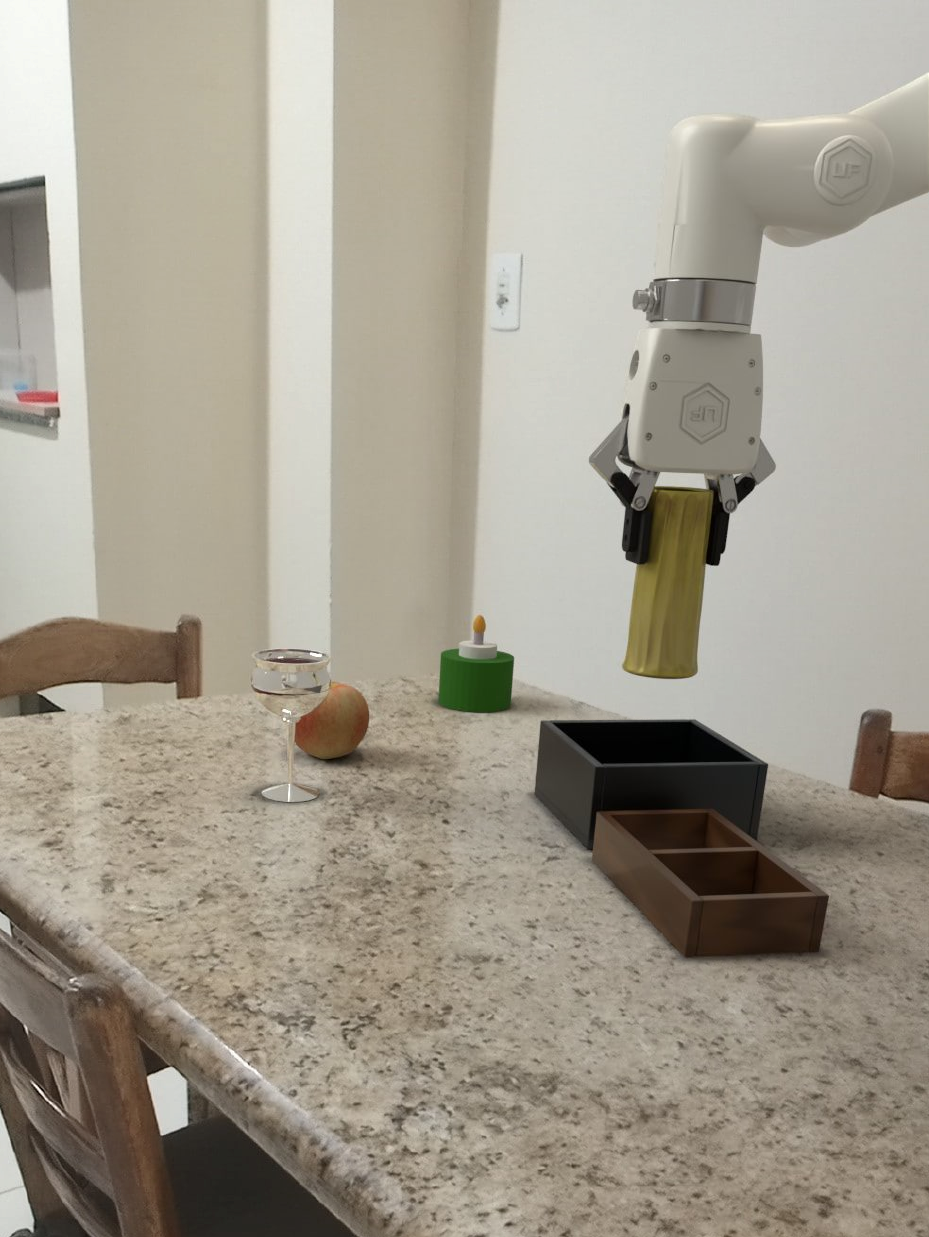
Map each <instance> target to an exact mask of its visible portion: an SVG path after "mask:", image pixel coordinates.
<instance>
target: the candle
mask: <svg viewBox="0 0 929 1237" xmlns="http://www.w3.org/2000/svg"><path fill="white" fill-rule="evenodd" d="M486 628H487V624H486V620H485V618H484V615H481V614H479V615H477V616H475V619H474V621H473V624H472V629H473V640H471V639H470V640H463V641H462V640H461V641H459V643H458V648H450V649H446V650H443V651H441V652H440V662H439V663H440V664H439V679H438V680H439V684H438V701H437V702H438V704H439V705H440V706H442V707H444V708H446V709H447V708H448V709H451V710H455V711H462V712H468V713H469V712H470V713H496V712H502V711H506V710H508V709H510V708H511V706H512V696H513V695H512V692H513V680H514V667H515V656H514V655H513V654H512V653H508V652H505V651H500V650H498V644H497V643H495V642H493V641H488V640H487V641H486V640H484V637H485V632H486Z"/></svg>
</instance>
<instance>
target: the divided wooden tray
mask: <svg viewBox="0 0 929 1237" xmlns="http://www.w3.org/2000/svg"><path fill="white" fill-rule="evenodd" d="M591 861H592V862H593V863H594V864H595V865H596V866H597V868H599V869H600V870H601V871H602V873H603V874H605V876H606V877H607V878H608V879H609V880H610V881H611V882H612V883H613V884H614V885H615V886H616V887H617V888H618V889H619V890H620V891H621V893H623V894H624V896H626V898H628V900H629V901H630V902H631V903H632V904H633V905H634V906H635V907H636V908H637V909H638V910H639V911H640V912H641V914H643V915H644V917H646V919H647V920H648V921H650V923H651V924H652V925H653V926H654V927H655V928H656V929H657V931H659V932H660V933H661V934H662V935H663V936H664V937H665V939H666V940H667V941H668V942H669V943H671V945H672V946H673V947H674V948H675V949H676V950H677V951H678V952H679V953H680V955H682V956H683V957H684V958H701V957H702V958H703V957H722V956H723V957H725V956H744V955H745V956H746V955H764V954H767V955H768V954H785V953H787V954H788V953H807V952H809V953H810V952H811V953H813V952H820V949H821V944H822V938H823V932H824V928H825V921H826V915H827V911H828V910H827V909H828V905H829V899H830V895H829V894H828V893H827V892H825V891H824V890H822V889H821V888H820V887H818V886H817V885H816V884H815V883H813V882H812V881H810V880H809V879H808V878H806V876H804V875H803V874H801V873H800V872H799V871H797V870H796V869H794V868H793V867H791V866H790V865H789V864H788V863H786V862H785V861H784V860H782V859H781V858H780V857H778V856H777V855H775V854H774V853H773V852H771V851H770V850H769V849H767V847H765V846H763V845H762V844H761V843H760V842H758V840H757V841H755V840H754V839H753V838H751V837H750V836H749V835H747V834H746V833H745V832H743V831H742V830H741V829H739V828H738V827H737V826H735V825H734V824H733V823H731V822H730V821H729V820H727V819H726V818H725V817H723V816H722V815H721V814H719V813H718V812H717V811H715V810H714V809H683V810H639V811H607V812H606V811H602V812H597V815H596V825H595V835H594V845H593V849H592V857H591Z"/></svg>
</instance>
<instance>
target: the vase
mask: <svg viewBox="0 0 929 1237" xmlns="http://www.w3.org/2000/svg"><path fill="white" fill-rule="evenodd" d="M713 497H714V492H713V490H709V489H706V488H701V487H691V486H690V487H689V486H677V485H676V486H672V485H671V486H670V485H655V487H654V489H653V491H652V494H651V496H650V499H649V501H648V511H651V513H652V514H653V518H652V527H651V536H650V545H649V554H648V561H647V563H645V564H636V567H635V574H634V582H633V590H632V600H631V606H630V614H629V615H630V616H629V624H628V636H627V646H626V652H625V658H624V659H623V662H622V664H621V668H622V670H623V671H624V672H626V673H627V674H630V675H634V676H638V677H644V678H650V679H657V680H658V679H659V680H660V679H662V680H682V679H689V678H692V677H694V676H696V675H697V674H698V672H699V670H698V669H699V666H698V651H699V650H698V649H699V639H700V638H699V637H700V628H701V627H700V626H701V618H702V611H703V600H704V599H703V598H704V589H705V580H706V579H705V578H706V567H707V566H706V565H707V564H706V554H707V548H708V540H709V532H710V523H711V514H712V504H713Z"/></svg>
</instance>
